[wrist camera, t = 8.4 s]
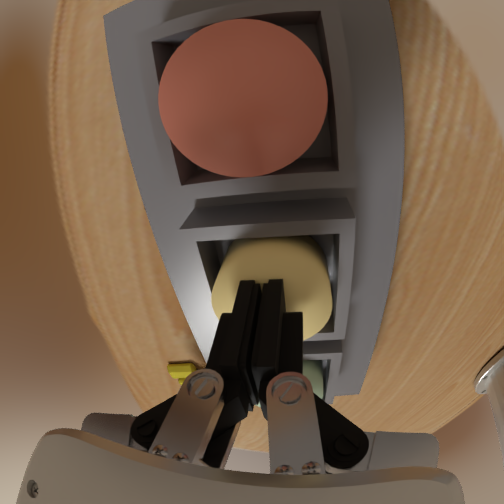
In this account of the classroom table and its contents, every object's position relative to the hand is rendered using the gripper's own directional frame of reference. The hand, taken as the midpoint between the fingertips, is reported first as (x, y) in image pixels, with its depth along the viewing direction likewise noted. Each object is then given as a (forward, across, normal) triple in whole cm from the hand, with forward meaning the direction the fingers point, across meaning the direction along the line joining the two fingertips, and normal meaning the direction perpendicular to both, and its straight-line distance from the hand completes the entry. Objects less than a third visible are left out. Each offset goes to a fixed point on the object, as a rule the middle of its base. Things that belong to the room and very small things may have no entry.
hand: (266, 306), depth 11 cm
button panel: (+6, 0, 0) cm, 6 cm away
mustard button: (+3, 0, 0) cm, 3 cm away
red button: (+2, 0, -8) cm, 8 cm away
